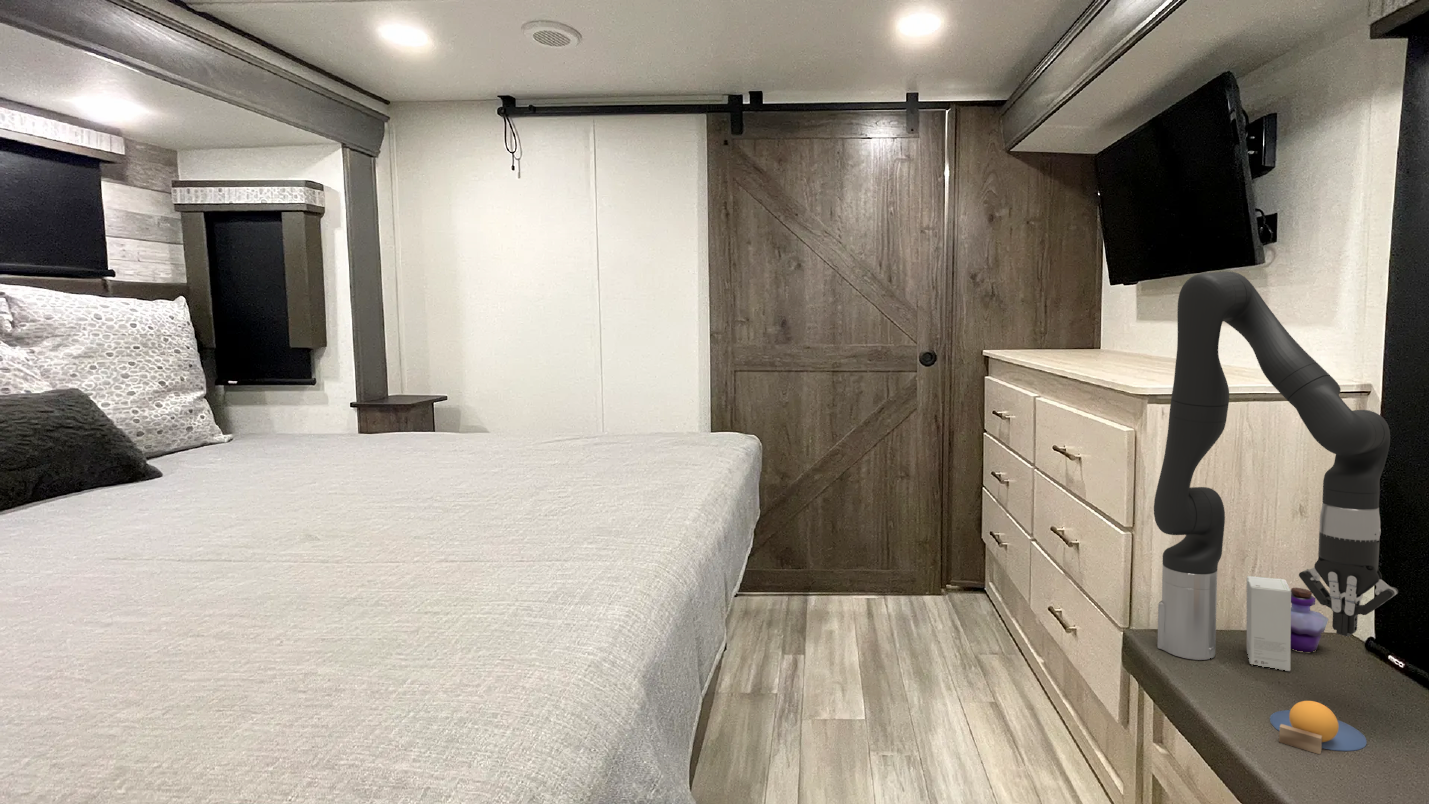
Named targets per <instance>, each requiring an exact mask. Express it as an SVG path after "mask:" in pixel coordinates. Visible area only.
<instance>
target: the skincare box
mask: <svg viewBox="0 0 1429 804" xmlns="http://www.w3.org/2000/svg"><path fill="white" fill-rule="evenodd" d="M1291 605H1292V603H1291V588H1290V586H1289V584H1288V582H1287V580H1286V579H1285V578H1284V579H1282V578H1275V577H1273V578H1272V577H1262V576H1253V575H1247V576H1246V654H1248V655H1247V657H1248V658H1249V659H1248V658H1247V659H1248V662H1249V664H1254V665H1258V666H1262V667H1261V668H1264V667H1270V668H1275V669H1274V670H1277V669H1279V670H1278V671H1283V670H1285V672H1291V651H1292V650H1291ZM1258 666H1257V667H1258ZM1270 668H1269V669H1270Z"/></svg>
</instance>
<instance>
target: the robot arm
mask: <svg viewBox="0 0 1429 804" xmlns="http://www.w3.org/2000/svg"><path fill="white" fill-rule="evenodd" d="M1177 299H1178V300H1177V341H1176V342H1177V344H1176V355H1175V357H1176V358H1175V368H1174V376H1173V378H1174V379H1173V385H1172V390H1171V391H1172V392H1171V399H1170V404H1169V405H1170V406H1169V412H1168V415H1169V416H1168V427H1167V437H1166V444H1165V449H1164V456H1163V460H1162V461H1163V462H1162V466H1161V470H1160V473H1159V478H1158V483H1157V486H1156V490H1155V491H1156V492H1155V494H1154V501H1153V502H1154V503H1153V516H1154V521H1155V524H1156V526H1157V529H1159V530H1160V531H1161V532H1162V533H1164V534H1166V535H1168V536H1169V535H1171V536H1184V537H1183V539H1182V540H1180V541H1179V542H1178V543H1176V544H1174V545H1171V546H1170V547H1167V548H1166V549H1165V550H1163V553H1162V566H1161V567H1162V569H1161V570H1162V572H1161V578H1162V579H1161V581H1162V582H1161V600H1160V601H1159V602H1158V604H1157V605H1158V606H1157V649H1159V650H1163V651H1164V652H1166V653H1168V654H1170V655H1173V656H1175V657H1179V658H1183V659H1188V660H1194V661H1195V660H1196V661H1198V660H1199V661H1202V660H1204V661H1206V660H1210V658H1211V659H1213V658H1215V656H1216V646H1217V645H1216V644H1217V643H1216V635H1217V634H1216V633H1217V605H1218V604H1217V602H1218V599H1217V598H1218V565H1219V561H1220V560H1221V558H1222V554H1223V546H1224V544H1223V543H1224V533H1225V524H1226V523H1225V522H1226V514H1225V513H1226V512H1225V505H1224V503H1223V500H1222V497H1221V496H1220V494H1219V493H1218V492H1217V491H1216V490H1215V489H1213V488H1211V487H1205V486H1196V487H1195V486H1193V487H1191V483H1192V478H1193V476H1194V473H1195V471H1196V469H1197V466H1198V465H1200V464H1199V463H1201V461H1202V460H1203V459H1204V457H1205V456H1206V454H1207V453H1209V451H1210V450H1211V449H1212V447H1213V446H1214V445H1215V443H1217V441H1218V440H1219V438H1220V437H1221V435H1222V434H1223V432H1224V430H1225V428H1226V423H1227V418H1228V411H1229V404H1230V388H1229V384H1228V381H1227V377H1226V375H1225V372H1224V370H1223V368H1222V365H1221V361H1220V356H1219V342H1220V336H1221V330H1222V326H1223V325H1222V324H1223V322H1224V323H1226V324H1227V325H1228V326H1230V327H1231V328H1232V329H1234V330H1235V331H1237V332H1238V333H1239V334H1240V335H1241V336H1242V337H1243V338H1244V339H1245V340H1246V342H1247V344H1249V347H1250V348H1251V349H1252V351H1253V353H1254V355H1255V359H1256V360H1257V362H1258V365H1259V367H1260V369H1261V371H1262V373H1263V375H1264V376H1265V377H1266V379H1267V380H1268V381H1269V382H1270V384H1271V386H1273V387H1274V388H1275V389H1276V390H1277V391H1278V393H1280V394H1281V395H1282V397H1283V398H1284V399H1285V400H1286V401H1287V402H1289V403H1290V405H1292V407H1294V409H1295V410H1296V412H1297V413H1298V415H1299V417H1300V419H1301V421H1302V422H1303V424H1304V425H1305V427H1306V429H1307V430H1308V431H1309V433H1310V435H1311V436H1312V437H1313V438H1314V440H1315V441H1316V442H1317V443H1318V444H1319V445H1320V446H1321V447H1323V449H1325V450H1327V451H1328V452H1330V453H1332V454H1335V456H1334V462H1333V465H1332V466H1331V468H1329V469H1328V470H1327V471H1325V473H1324V476H1323V479H1322V480H1323V481H1322V500H1321V501H1322V503H1321V510H1320V512H1319V513H1320V514H1319V527H1318V528H1319V529H1318V530H1319V531H1318V532H1319V533H1318V551H1317V552H1318V554H1317V556H1318V559H1317V561H1316V562H1315V563H1314V567H1312V568H1309V569H1308V568H1307V569H1305V570H1303V571H1300V572H1298V577H1299V579H1301V581H1302V582H1303V584H1305V586H1306V588H1308V589H1307V590H1309V591H1311V592H1312V596H1313V597H1314V598H1315V600H1316V601H1318V603H1319V604H1320V605H1321V606H1325V607H1328V609H1329V608H1330V609H1331V611H1332V629H1333V630H1334V631H1336V634H1337V635H1340V636H1344V637H1350V636H1352V635H1353V634H1355V633H1356V632H1357V630H1358V619H1359V618H1358V616H1359V615H1361V616H1366V615H1368V614H1370V613H1371V612H1372V613H1373V612H1374V610H1375V611H1376V609H1378V608H1379V607H1381V605H1383V604H1385V603H1386V602H1388V601H1389V600H1390V599H1392V598H1393V597H1395V596H1396V595H1398V594H1399V589H1398V588H1397V587H1394V586H1390V585H1389V584H1387V583H1386V582H1385V581H1384V580H1383V579H1382V578H1383V575H1382V572H1380V569H1379V561H1380V560H1379V559H1380V557H1379V556H1380V542H1381V541H1380V540H1381V539H1380V536H1381V533H1382V531H1381V530H1382V529H1381V515H1380V491H1381V490H1380V488H1381V487H1380V481H1381V480H1380V479H1381V477H1382V473H1383V472H1384V468H1385V465H1386V462H1387V461H1386V460H1387V458H1388V454H1389V449H1390V445H1391V431H1390V427H1389V424H1388V423H1387V421H1386V420H1385V418H1384V417H1383V416H1382V415H1381V414H1379V413H1377V412H1375V411H1373V410H1367V409H1355V410H1352V409H1351V408H1350V406H1348V405H1347V404H1346V403H1345V401H1344V400H1343V399H1342V398H1341V396H1340V394H1341V386H1340V385H1339V384H1338V382H1337V381H1336V380H1335V379H1334V378H1333V376H1331V375H1330V374H1329V372H1327V371H1326V370H1325V369H1324V368H1323V367H1322V366H1321V365H1320V364H1319V363H1318V362H1317V361H1316V360H1315V359H1314V358H1313V357H1312V356H1311V355H1310V354H1308V352H1307V351H1306V350H1304V348H1303V347H1302V346H1301V345H1300V344H1299V343H1298V342H1297V341H1296V340H1295V338H1293V337H1292V336H1291V334H1290V333H1289V331H1288V330H1287V329H1286V328H1285V327H1284V326H1283V324H1282V323H1281V322H1280V321H1279V319H1278V318H1277V317H1276V315H1275V314H1274V313H1273V311H1272V310H1271V309H1270V308H1269V306H1268V305H1267V304H1266V302H1265V300H1264V298H1262V296H1261V294H1260V293H1259V291H1258V290H1257V289H1256V288H1255V285H1253V284H1252V283H1251V281H1250V280H1248V278H1246V276H1245V275H1243V274H1241V273H1238V272H1235V271H1217V272H1205V273H1204V272H1203V273H1198V274H1195V275H1192V276H1191V277H1190V278H1188V279H1187V280H1186V281H1185V282H1184V283H1183V285H1182V286H1181V289H1180V292H1179V294H1178V298H1177ZM1321 580H1322V581H1323V582H1324V584H1326V586H1327V587H1328V589H1329V591H1328V590H1327V588H1326V586H1325V585H1324V584H1323V583H1322V582H1321ZM1375 586H1376V588H1375V589H1374V594H1375V595H1376V596H1374V597H1373V598H1372V599H1370V600H1369V601H1368V602H1366V603H1365V604H1361V602H1362V599H1363V596H1364V595H1365V593H1367V592H1368V591H1370V590H1371V589H1372V588H1373V587H1375Z"/></svg>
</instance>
